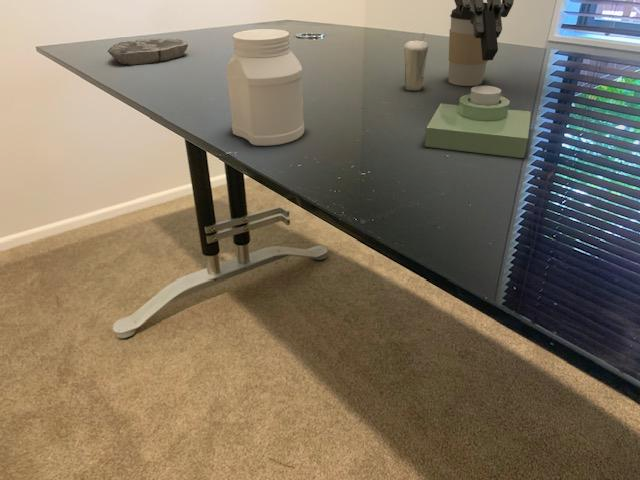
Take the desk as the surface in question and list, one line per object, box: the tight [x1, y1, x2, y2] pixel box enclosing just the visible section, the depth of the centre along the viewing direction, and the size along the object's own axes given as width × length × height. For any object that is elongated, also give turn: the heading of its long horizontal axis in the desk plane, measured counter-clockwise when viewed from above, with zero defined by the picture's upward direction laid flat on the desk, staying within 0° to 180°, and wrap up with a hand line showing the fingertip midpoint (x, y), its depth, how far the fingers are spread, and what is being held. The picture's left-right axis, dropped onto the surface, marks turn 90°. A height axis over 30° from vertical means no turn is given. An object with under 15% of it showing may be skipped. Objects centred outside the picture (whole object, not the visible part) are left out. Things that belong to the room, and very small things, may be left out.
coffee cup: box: [448, 2, 489, 87], centre depth 101 cm, size 9×9×15 cm
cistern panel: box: [424, 93, 532, 159], centre depth 76 cm, size 14×13×5 cm
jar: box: [225, 28, 305, 147], centre depth 77 cm, size 12×10×15 cm
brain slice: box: [107, 38, 189, 66], centre depth 129 cm, size 20×17×3 cm
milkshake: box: [403, 32, 430, 92], centre depth 98 cm, size 4×5×10 cm
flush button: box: [469, 85, 502, 106], centre depth 77 cm, size 4×4×2 cm
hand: (490, 55), depth 75 cm, fingers closed
